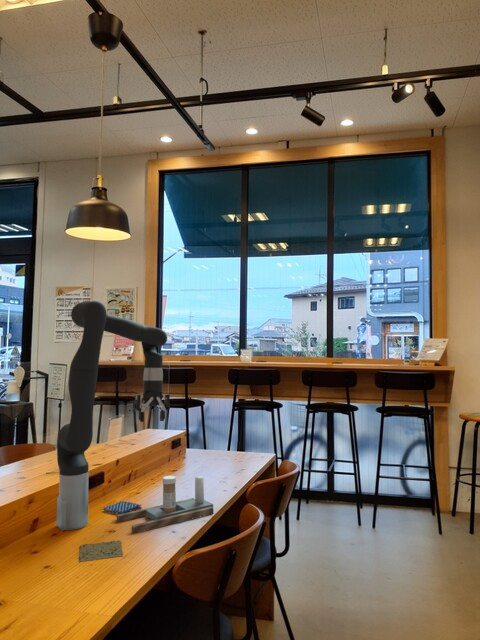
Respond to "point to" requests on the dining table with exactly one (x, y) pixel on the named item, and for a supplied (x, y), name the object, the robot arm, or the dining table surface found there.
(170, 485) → the sprinkles bottle
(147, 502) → the dining table surface
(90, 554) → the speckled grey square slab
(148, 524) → the guide rails
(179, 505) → the grey tray with post
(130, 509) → the woven mat
